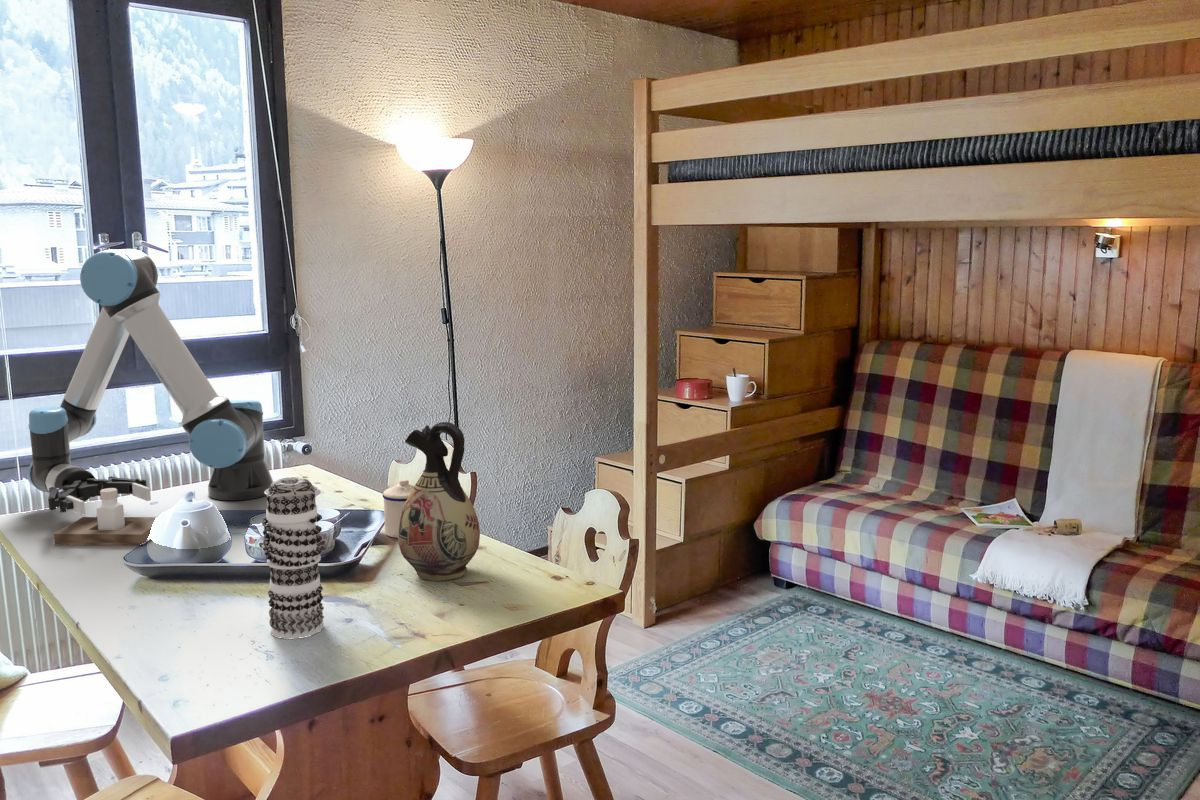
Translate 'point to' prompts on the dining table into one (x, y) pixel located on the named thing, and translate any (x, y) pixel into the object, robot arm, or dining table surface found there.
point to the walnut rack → (105, 532)
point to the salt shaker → (110, 511)
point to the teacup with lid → (395, 505)
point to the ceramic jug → (438, 510)
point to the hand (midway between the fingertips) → (116, 501)
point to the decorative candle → (293, 558)
